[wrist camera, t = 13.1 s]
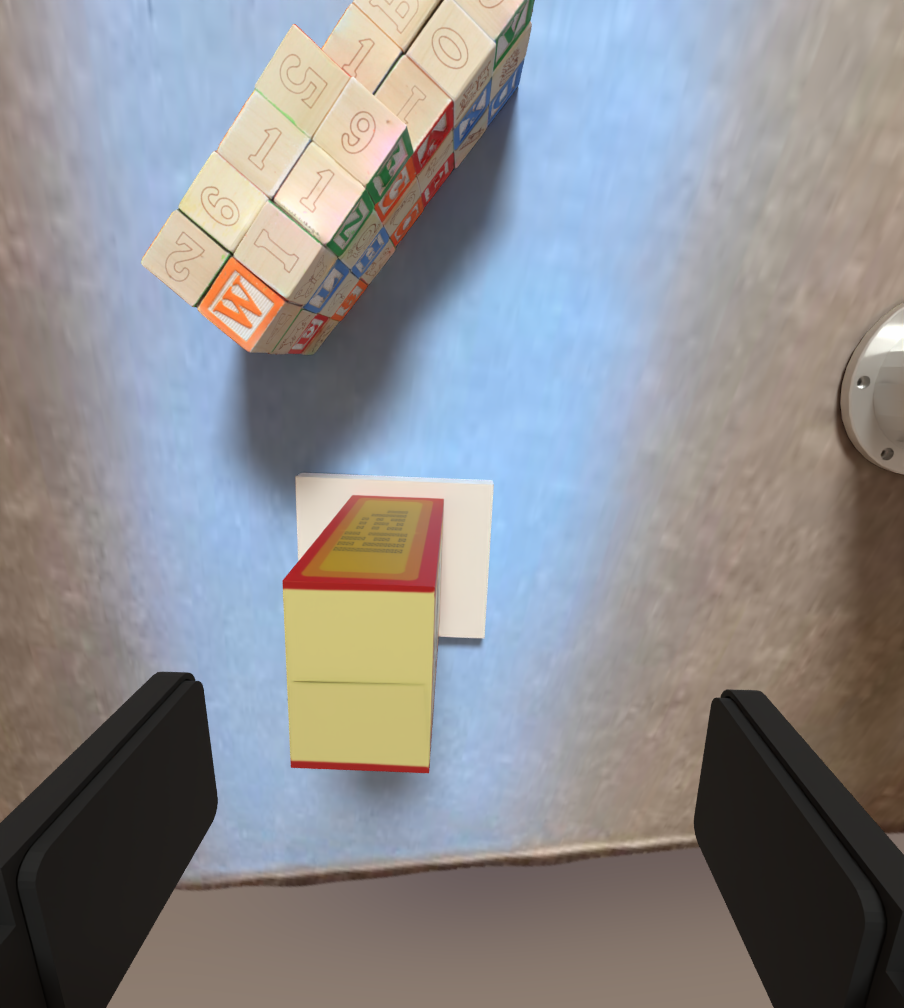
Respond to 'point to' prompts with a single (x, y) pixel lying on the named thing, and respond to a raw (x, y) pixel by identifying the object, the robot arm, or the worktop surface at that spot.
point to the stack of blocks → (336, 164)
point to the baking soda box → (366, 637)
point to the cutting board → (461, 533)
